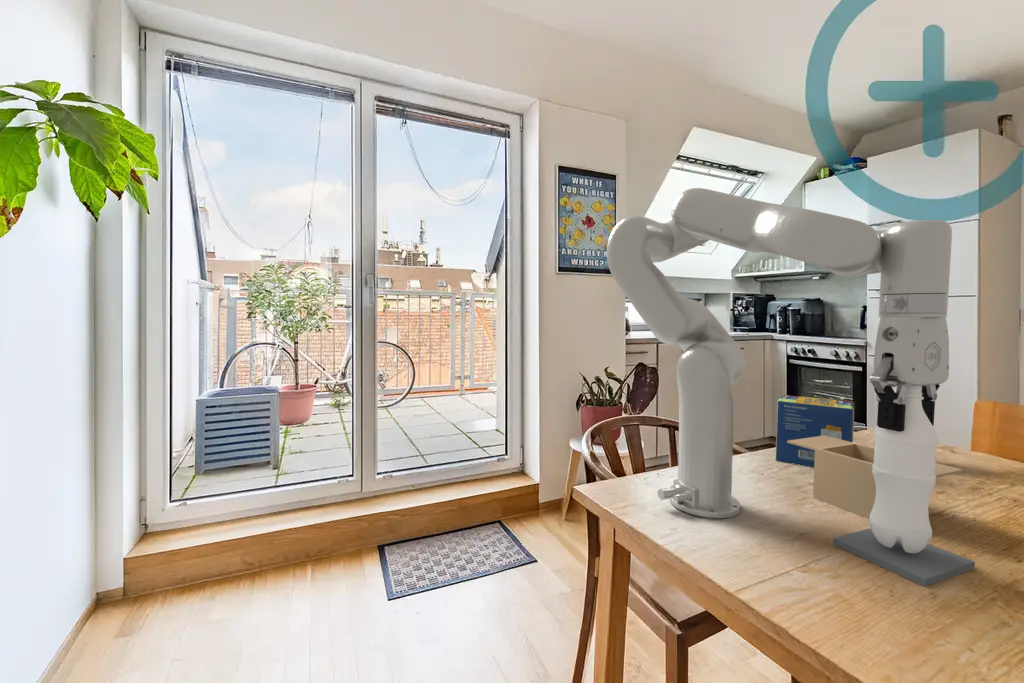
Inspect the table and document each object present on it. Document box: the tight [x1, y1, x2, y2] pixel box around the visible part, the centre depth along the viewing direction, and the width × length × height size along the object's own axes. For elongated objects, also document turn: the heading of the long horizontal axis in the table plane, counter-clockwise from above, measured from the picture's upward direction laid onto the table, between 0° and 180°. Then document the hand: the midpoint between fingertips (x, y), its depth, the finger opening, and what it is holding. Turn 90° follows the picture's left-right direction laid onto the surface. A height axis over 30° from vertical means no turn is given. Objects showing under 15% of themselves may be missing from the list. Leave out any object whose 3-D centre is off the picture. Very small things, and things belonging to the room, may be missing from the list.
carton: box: [787, 436, 964, 519], centre depth 86 cm, size 12×24×10 cm, turn 21°
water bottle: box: [868, 380, 939, 553], centre depth 67 cm, size 7×7×25 cm
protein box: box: [774, 394, 855, 468], centre depth 111 cm, size 10×15×16 cm
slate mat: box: [832, 527, 976, 587], centre depth 68 cm, size 12×12×1 cm
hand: (905, 426), depth 67 cm, fingers closed on water bottle, 6 cm apart
